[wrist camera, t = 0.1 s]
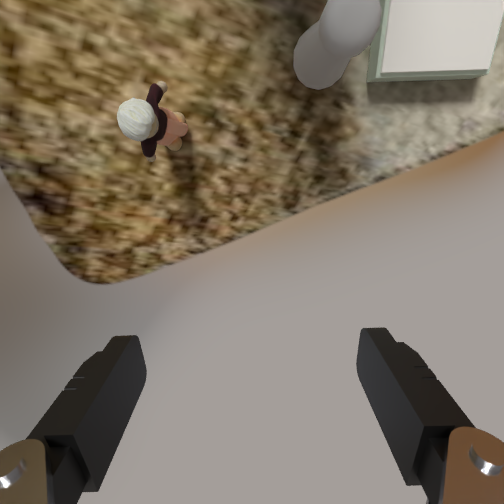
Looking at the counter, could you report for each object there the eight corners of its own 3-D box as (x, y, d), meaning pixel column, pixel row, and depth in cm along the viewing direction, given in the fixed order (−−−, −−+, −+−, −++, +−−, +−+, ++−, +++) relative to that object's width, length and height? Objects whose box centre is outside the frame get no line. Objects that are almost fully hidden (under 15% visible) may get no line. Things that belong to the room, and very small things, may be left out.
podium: (382, -58, 27) (397, -80, 24) (504, -63, 27) (532, -86, 24) (366, 82, 32) (377, 77, 29) (470, 79, 32) (491, 73, 29)
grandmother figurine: (189, 160, 35) (157, 171, 23) (158, 157, 35) (112, 166, 23) (190, 92, 32) (154, 65, 20) (157, 88, 32) (102, 59, 20)
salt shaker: (348, 39, 30) (412, -27, 18) (332, 97, 32) (380, 72, 20) (297, 26, 30) (327, -49, 18) (284, 86, 32) (304, 54, 20)
